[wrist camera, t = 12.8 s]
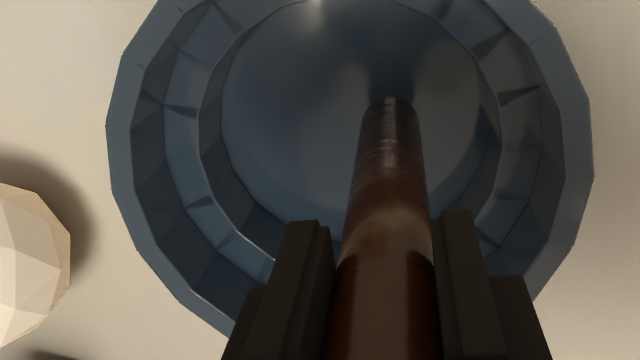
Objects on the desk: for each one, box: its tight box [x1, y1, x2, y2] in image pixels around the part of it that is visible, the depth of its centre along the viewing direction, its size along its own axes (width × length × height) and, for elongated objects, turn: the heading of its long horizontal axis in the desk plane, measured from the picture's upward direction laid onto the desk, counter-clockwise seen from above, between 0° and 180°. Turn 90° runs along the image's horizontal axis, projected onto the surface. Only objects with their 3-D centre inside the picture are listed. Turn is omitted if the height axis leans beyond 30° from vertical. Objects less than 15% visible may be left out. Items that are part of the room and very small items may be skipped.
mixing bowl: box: [105, 0, 594, 338], centre depth 20 cm, size 15×15×6 cm
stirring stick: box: [321, 97, 444, 360], centre depth 13 cm, size 2×2×16 cm
